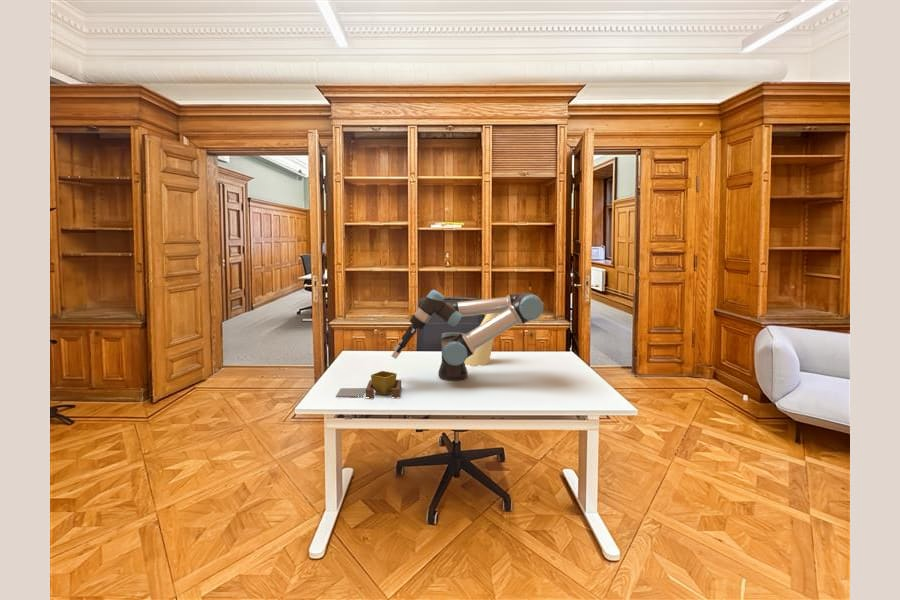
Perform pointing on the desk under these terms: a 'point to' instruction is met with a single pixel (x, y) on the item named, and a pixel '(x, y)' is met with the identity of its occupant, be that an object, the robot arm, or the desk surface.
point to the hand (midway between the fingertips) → (394, 354)
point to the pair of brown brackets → (395, 390)
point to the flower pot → (383, 381)
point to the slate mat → (351, 392)
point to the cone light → (482, 349)
